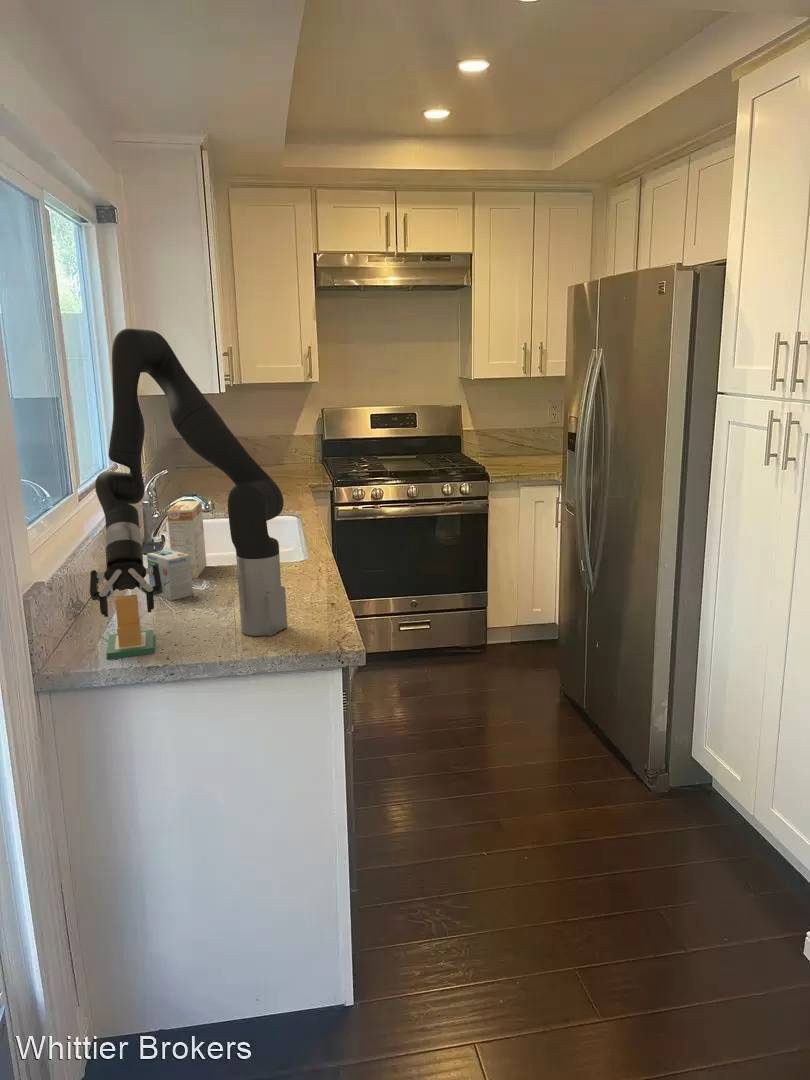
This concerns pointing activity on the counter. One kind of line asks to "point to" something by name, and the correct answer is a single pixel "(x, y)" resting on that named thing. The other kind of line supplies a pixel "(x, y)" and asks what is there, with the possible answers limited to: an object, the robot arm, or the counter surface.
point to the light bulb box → (172, 573)
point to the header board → (142, 649)
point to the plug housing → (128, 621)
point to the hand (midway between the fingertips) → (127, 612)
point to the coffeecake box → (188, 533)
